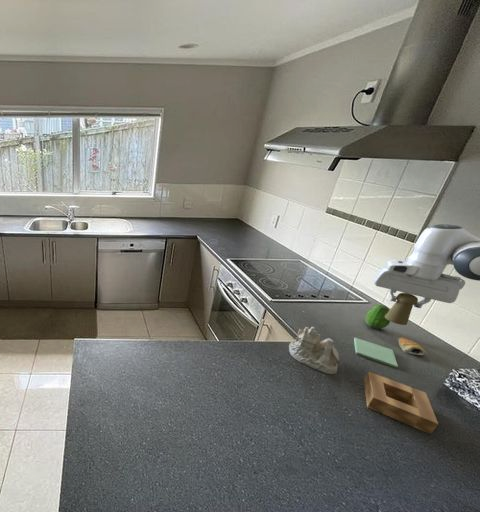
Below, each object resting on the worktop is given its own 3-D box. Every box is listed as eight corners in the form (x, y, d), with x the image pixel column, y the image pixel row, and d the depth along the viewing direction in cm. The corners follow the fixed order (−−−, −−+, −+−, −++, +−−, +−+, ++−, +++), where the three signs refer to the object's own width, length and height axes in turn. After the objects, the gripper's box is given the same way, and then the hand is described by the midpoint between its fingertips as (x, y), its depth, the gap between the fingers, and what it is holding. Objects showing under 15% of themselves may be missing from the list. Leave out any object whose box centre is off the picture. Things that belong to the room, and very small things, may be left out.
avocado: (358, 324, 132) (369, 302, 128) (367, 320, 135) (378, 299, 131) (379, 334, 126) (391, 311, 121) (388, 330, 129) (400, 308, 124)
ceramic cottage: (333, 378, 100) (348, 343, 95) (282, 354, 111) (292, 321, 106) (342, 361, 110) (355, 328, 105) (293, 340, 121) (304, 310, 116)
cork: (400, 325, 101) (414, 299, 97) (380, 316, 107) (393, 291, 103) (411, 323, 103) (425, 298, 99) (391, 314, 108) (404, 289, 104)
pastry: (392, 339, 122) (396, 332, 121) (412, 344, 120) (416, 336, 119) (404, 353, 114) (408, 345, 113) (425, 358, 112) (430, 350, 111)
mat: (391, 351, 115) (392, 349, 115) (397, 368, 106) (398, 366, 106) (353, 339, 122) (354, 337, 121) (355, 353, 113) (356, 352, 112)
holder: (419, 402, 92) (425, 392, 90) (430, 434, 82) (438, 423, 80) (363, 380, 100) (368, 371, 98) (367, 407, 89) (373, 397, 88)
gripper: (464, 275, 94) (443, 310, 99) (381, 259, 105) (366, 291, 110) (471, 282, 89) (449, 318, 94) (384, 264, 100) (368, 297, 105)
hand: (404, 303), depth 102 cm, fingers closed on cork, 5 cm apart
